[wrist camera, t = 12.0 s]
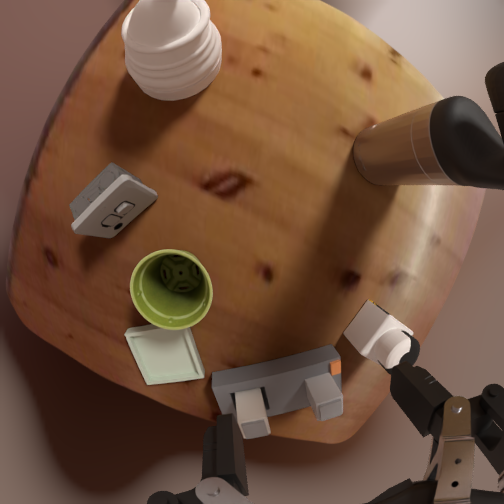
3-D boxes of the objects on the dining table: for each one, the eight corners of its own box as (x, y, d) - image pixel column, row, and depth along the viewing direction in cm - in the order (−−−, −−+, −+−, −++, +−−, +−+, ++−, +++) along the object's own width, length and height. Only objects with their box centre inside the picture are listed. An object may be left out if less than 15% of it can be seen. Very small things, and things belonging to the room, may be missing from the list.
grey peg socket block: (331, 344, 42) (357, 380, 32) (333, 383, 44) (355, 420, 34) (212, 372, 41) (211, 417, 31) (225, 409, 43) (228, 453, 33)
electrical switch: (112, 238, 36) (79, 245, 26) (94, 211, 35) (58, 210, 26) (160, 196, 35) (136, 190, 26) (140, 168, 35) (112, 154, 25)
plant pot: (142, 244, 36) (121, 257, 28) (208, 232, 37) (203, 242, 28) (157, 306, 38) (142, 334, 30) (220, 297, 39) (219, 324, 30)
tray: (187, 318, 39) (185, 324, 37) (204, 370, 41) (204, 377, 39) (128, 328, 38) (124, 333, 36) (149, 377, 40) (147, 384, 38)
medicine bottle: (392, 315, 43) (432, 347, 31) (368, 348, 44) (402, 385, 32) (367, 297, 41) (409, 329, 30) (341, 333, 42) (375, 372, 31)
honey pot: (210, 22, 30) (208, -57, 13) (230, 86, 33) (238, 12, 16) (130, 46, 30) (88, -20, 12) (142, 113, 32) (88, 59, 15)
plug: (258, 379, 41) (267, 419, 32) (262, 395, 42) (271, 435, 33) (234, 384, 41) (237, 425, 32) (239, 400, 42) (244, 441, 32)
